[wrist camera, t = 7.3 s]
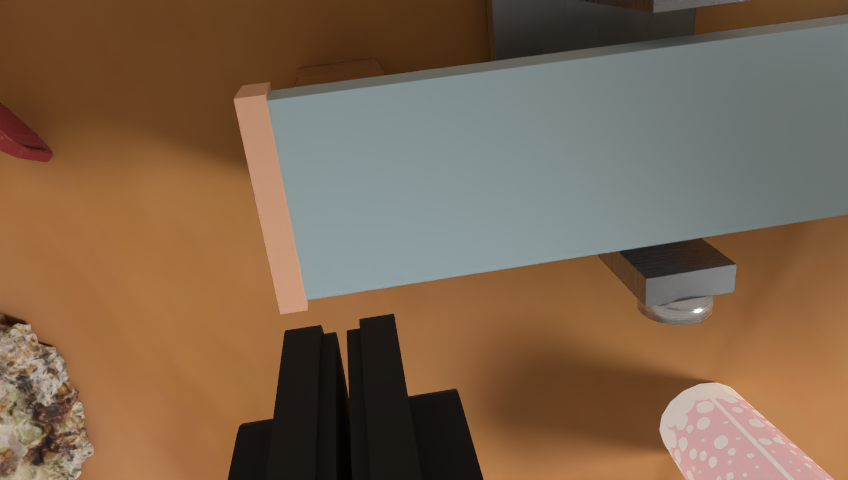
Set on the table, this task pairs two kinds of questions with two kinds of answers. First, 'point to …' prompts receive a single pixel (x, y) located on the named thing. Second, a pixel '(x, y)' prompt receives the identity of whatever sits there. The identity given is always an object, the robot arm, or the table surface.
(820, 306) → the table surface
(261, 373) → the table surface
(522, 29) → the beam stand
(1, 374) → the mineral rock
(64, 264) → the table surface
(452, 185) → the balance beam
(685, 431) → the beverage cup
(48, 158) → the utility knife
